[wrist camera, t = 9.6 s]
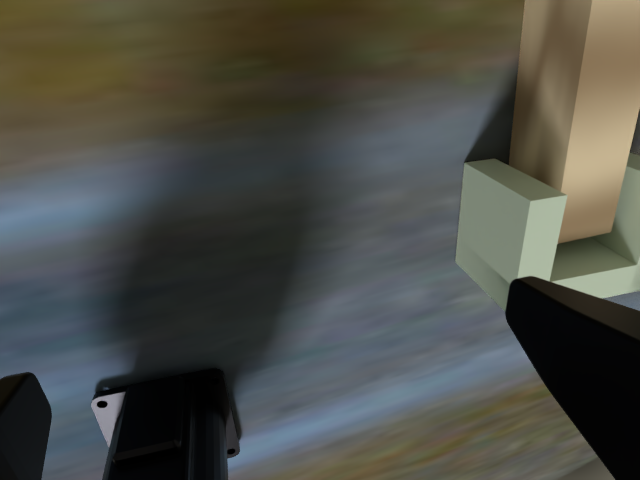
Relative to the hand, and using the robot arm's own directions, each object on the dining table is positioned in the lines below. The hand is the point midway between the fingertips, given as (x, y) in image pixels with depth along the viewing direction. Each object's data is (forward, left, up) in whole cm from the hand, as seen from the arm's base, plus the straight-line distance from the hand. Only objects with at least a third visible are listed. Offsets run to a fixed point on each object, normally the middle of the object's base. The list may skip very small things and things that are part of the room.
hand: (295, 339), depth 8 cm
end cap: (-4, -14, -12) cm, 19 cm away
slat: (+3, -14, -12) cm, 19 cm away
